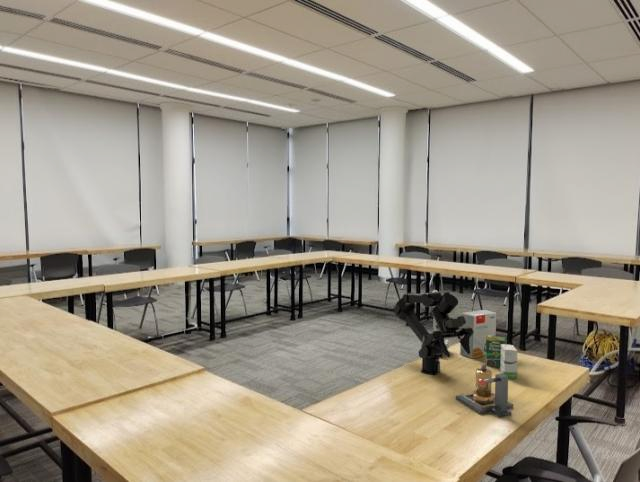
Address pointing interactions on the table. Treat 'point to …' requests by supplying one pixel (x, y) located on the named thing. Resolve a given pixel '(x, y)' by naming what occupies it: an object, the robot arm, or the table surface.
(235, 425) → the table surface
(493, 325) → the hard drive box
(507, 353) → the ink box
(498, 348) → the coffee box
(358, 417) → the table surface
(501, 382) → the press bed
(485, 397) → the amber cylindrical piece
